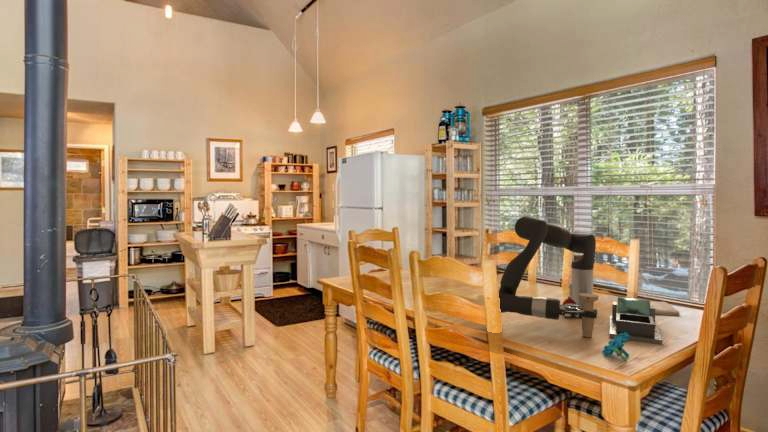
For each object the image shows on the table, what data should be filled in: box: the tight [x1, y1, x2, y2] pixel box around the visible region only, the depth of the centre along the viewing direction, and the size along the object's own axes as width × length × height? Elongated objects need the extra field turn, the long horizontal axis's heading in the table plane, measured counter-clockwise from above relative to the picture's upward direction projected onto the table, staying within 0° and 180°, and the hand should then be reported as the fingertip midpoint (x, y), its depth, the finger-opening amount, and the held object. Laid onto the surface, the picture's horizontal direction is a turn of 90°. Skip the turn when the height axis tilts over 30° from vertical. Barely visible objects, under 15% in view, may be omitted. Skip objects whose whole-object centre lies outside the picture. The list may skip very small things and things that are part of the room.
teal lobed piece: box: [601, 332, 630, 362], centre depth 143 cm, size 11×6×10 cm
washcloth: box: [650, 300, 681, 316], centre depth 199 cm, size 12×18×3 cm, turn 166°
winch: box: [608, 296, 663, 345], centre depth 170 cm, size 16×28×10 cm, turn 153°
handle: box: [579, 293, 599, 338], centre depth 162 cm, size 5×6×15 cm
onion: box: [561, 295, 577, 305], centre depth 190 cm, size 6×6×8 cm
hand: (596, 313), depth 160 cm, fingers closed on handle, 3 cm apart
